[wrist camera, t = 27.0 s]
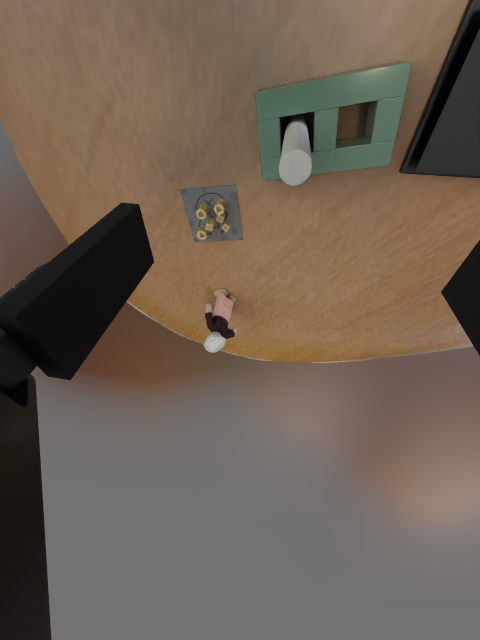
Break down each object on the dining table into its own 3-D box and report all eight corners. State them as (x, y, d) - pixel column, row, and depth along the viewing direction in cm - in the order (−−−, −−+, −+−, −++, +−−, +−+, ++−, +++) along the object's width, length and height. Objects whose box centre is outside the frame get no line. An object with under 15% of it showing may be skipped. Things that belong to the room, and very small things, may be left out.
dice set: (201, 234, 40) (198, 240, 39) (193, 200, 37) (189, 206, 36) (232, 232, 39) (230, 238, 38) (227, 198, 36) (224, 203, 35)
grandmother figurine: (205, 293, 49) (185, 344, 40) (216, 281, 47) (197, 333, 38) (237, 314, 52) (224, 366, 43) (248, 303, 49) (238, 356, 41)
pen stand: (259, 89, 27) (255, 92, 25) (399, 60, 24) (412, 61, 22) (265, 170, 33) (262, 180, 30) (381, 155, 30) (389, 165, 27)
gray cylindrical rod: (285, 117, 29) (277, 151, 18) (307, 114, 28) (312, 146, 18) (285, 143, 30) (279, 188, 20) (307, 140, 30) (311, 184, 19)
